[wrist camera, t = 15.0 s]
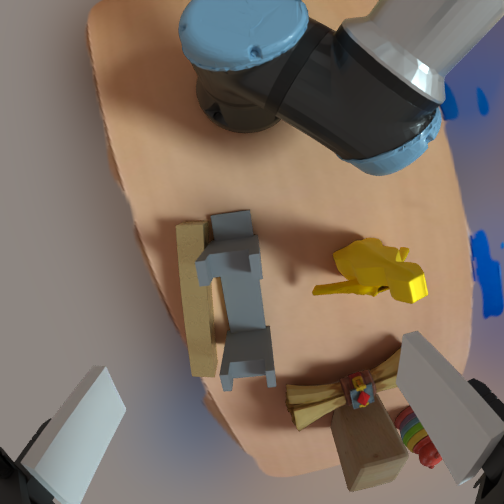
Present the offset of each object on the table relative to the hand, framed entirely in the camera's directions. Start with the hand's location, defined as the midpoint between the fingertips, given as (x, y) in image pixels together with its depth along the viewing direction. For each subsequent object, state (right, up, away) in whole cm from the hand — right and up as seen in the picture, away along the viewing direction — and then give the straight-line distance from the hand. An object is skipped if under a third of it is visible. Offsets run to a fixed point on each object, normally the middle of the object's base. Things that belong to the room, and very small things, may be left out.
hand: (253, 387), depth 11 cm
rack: (-2, -1, +36) cm, 36 cm away
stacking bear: (+41, -36, +44) cm, 70 cm away
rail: (-9, -2, +36) cm, 38 cm away
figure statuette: (+17, +5, +35) cm, 39 cm away
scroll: (+20, -19, +40) cm, 48 cm away
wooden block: (+23, -30, +42) cm, 56 cm away
